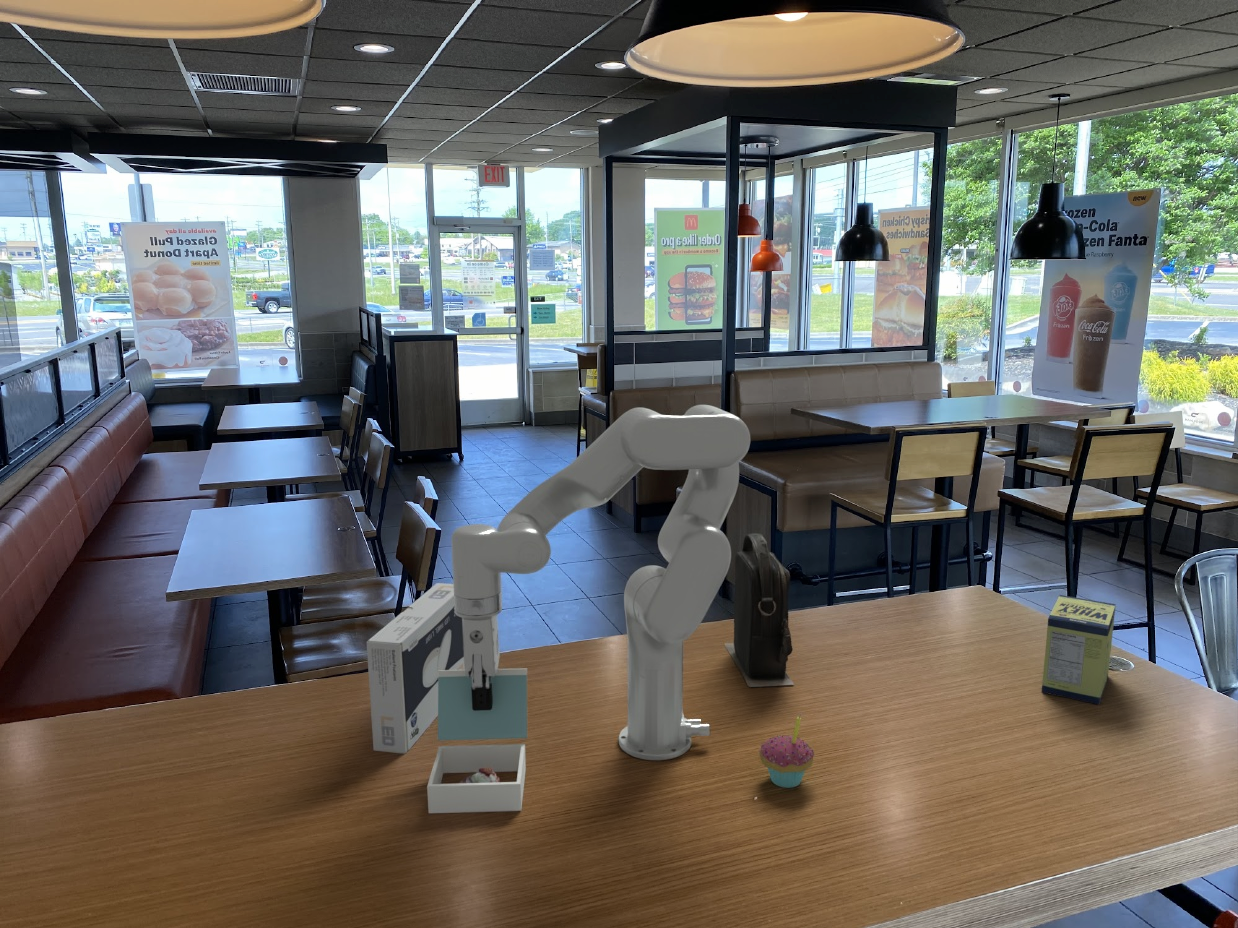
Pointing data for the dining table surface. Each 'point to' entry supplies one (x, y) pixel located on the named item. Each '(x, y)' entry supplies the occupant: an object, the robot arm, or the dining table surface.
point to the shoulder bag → (761, 615)
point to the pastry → (482, 776)
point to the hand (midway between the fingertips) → (482, 707)
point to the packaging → (412, 668)
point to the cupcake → (786, 758)
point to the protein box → (1078, 649)
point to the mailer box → (477, 794)
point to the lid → (484, 724)
